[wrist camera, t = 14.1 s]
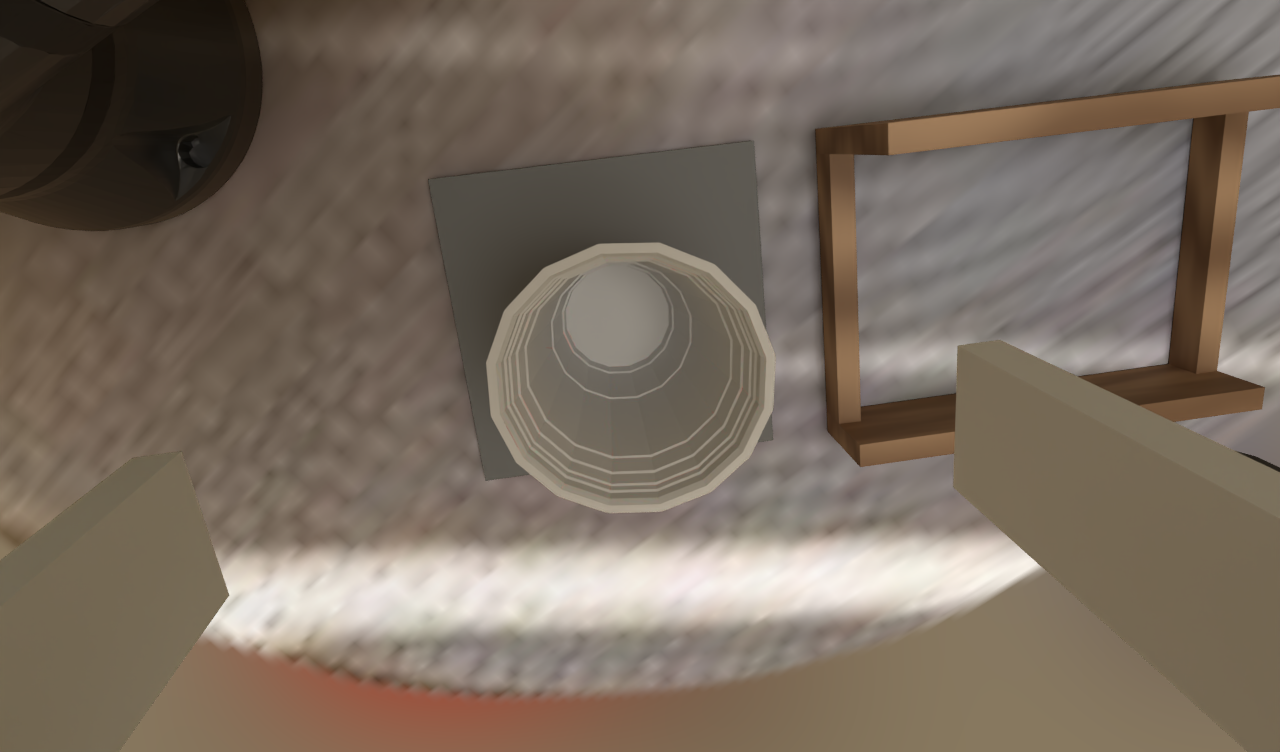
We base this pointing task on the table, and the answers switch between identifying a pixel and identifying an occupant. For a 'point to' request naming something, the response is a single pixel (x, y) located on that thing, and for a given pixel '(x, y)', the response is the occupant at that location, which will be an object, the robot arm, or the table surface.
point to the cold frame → (1213, 156)
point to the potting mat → (585, 239)
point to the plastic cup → (631, 377)
